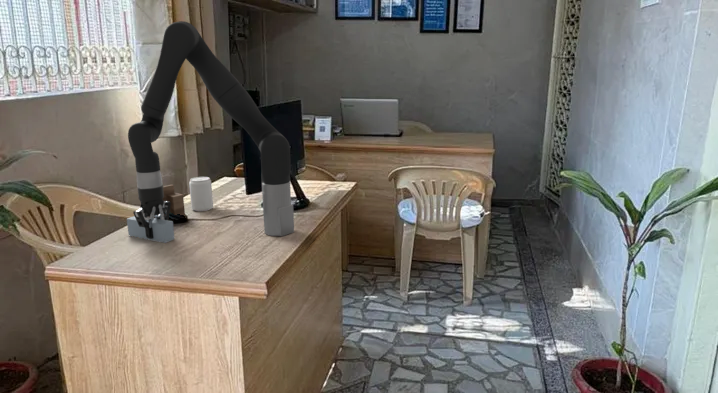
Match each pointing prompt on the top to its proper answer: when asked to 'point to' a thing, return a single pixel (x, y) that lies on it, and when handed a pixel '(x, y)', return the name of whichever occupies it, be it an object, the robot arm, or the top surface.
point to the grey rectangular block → (161, 229)
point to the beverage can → (201, 193)
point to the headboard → (173, 200)
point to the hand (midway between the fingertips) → (155, 235)
